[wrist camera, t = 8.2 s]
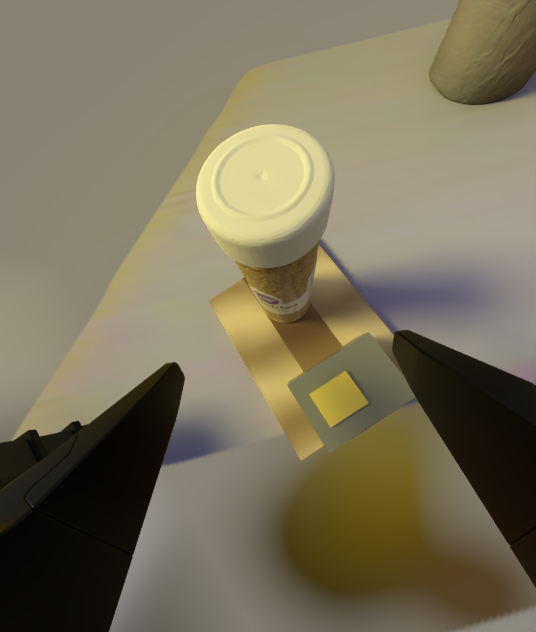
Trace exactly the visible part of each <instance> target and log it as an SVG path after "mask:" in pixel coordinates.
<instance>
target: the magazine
mask: <svg viewBox="0 0 536 632" xmlns="http://www.w3.org/2000/svg"><path fill="white" fill-rule="evenodd" d="M87 425H88V424H87ZM87 425H84V426H81V424H80V422H79V421H75V422H71V423H70V424H69V425H68V426H67V427H66V428H65V429H63V430H62V431H61V432H58V433H54V434H50V435H45V436H39V435H38V433H37V431H36V430H28V431H27V432H25V433H24V434H22V435H21V436H20V437H18V438H17V439H15V440H14V441H10V442H3V443H0V490H2V489H3V488H4V487H6V486H7V485H9V484H10V483H11V482H13V481H14V480H15V479H17V478H18V477H20V476H21V475H22V474H24V473H25V472H27V471H28V470H29V469H31V468H32V467H33V466H35V465H36V464H37V463H39V462H40V461H41V460H43V459H44V458H46V457H47V456H48V455H50V454H51V453H52V452H53V451H55V450H56V449H57V448H59V447H60V446H61V445H63V444H64V443H65V442H66V441H68V440H69V439H70V438H72V437H73V436H74V435H75V434H77V433H79V432H80V431H81V430H82V429H83V428H84V427H86V426H87Z"/></svg>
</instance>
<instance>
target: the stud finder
mask: <svg viewBox="0 0 536 632" xmlns="http://www.w3.org/2000/svg"><path fill="white" fill-rule="evenodd" d="M287 386H288V388H289V389H290V391H291V393H292V394H293V396H294V397H295V399H296V401H297V402H298V404H299V406H300V407H301V409H302V410H303V412H304V414H305V415H306V417H307V418H308V420H309V422H310V423H311V425H312V427H313V428H314V430H315V431H316V433H317V435H318V436H319V438H320V440H321V441H322V443H323V444H324V446H325V448H326V449H327V451H328V452H329V453H331V452H332V451H334V450H335V449H337V448H338V447H340V446H341V445H343V444H344V443H346V442H347V441H349V440H350V439H352V438H353V437H355V436H357V435H358V434H360V433H361V432H363V431H364V430H366V429H367V428H369V427H371V426H372V425H374V424H375V423H377V422H378V421H380V420H381V419H383V418H384V417H386V416H387V415H389V414H390V413H392V412H394V411H395V410H397V409H398V408H400V407H401V406H403V405H404V404H406V403H407V402H409V401H410V400H412V399H414V398H415V395H414V394H413V392H412V390H411V389H410V387H409V385H408V383H407V381H406V379H405V377H404V376H403V375H402V374H401V372H400V371H399V370H398V368H397V367H396V366H395V365H394V363H393V362H392V361H391V360H390V358H389V357H388V356H387V355H386V353H385V352H384V351H383V349H382V348H381V347H380V346H379V344H378V343H377V342H376V341H375V339H374V338H373V337H372V336H371V334H370V333H369V332H367V333H365V334H363V335H360V336H358V337H356V338H355V339H353V340H352V341H350V342H349V343H347V344H346V345H344V346H342V347H341V348H339V349H338V350H336V351H335V352H333V353H332V354H330V355H329V356H327V357H326V358H324V359H323V360H321V361H319V362H318V363H316V364H315V365H313V366H312V367H310V368H309V369H307V370H306V371H304V372H303V373H301V374H300V375H298V376H297V377H295V378H293V379H292V380H290V381H289V382H288V384H287Z"/></svg>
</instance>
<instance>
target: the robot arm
mask: <svg viewBox="0 0 536 632" xmlns="http://www.w3.org/2000/svg"><path fill="white" fill-rule="evenodd" d="M392 351H393V354H394V356H395V358H396V360H397V362H398V364H399V366H400V368H401V371H402V373H403V375H404V377H405V379H406V381H407V383H408V385H409V387H410V389H411V390H412V392H413V394H414V395H415V397H416V398H417V400H418V402H419V403H420V405H421V406H422V408H423V410H424V411H425V413H426V414H427V416H428V417H429V419H430V421H431V422H432V424H433V425H434V427H435V429H436V430H437V432H438V433H439V435H440V437H441V438H442V440H443V441H444V443H445V444H446V446H447V447H448V449H449V451H450V452H451V454H452V456H453V457H454V459H455V460H456V462H457V463H458V465H459V467H460V468H461V470H462V471H463V473H464V475H465V476H466V478H467V479H468V481H469V482H470V484H471V486H472V487H473V489H474V490H475V492H476V494H477V495H478V497H479V498H480V500H481V501H482V503H483V505H484V506H485V507H486V509H487V511H488V513H489V514H490V516H491V517H492V519H493V520H494V522H495V524H496V525H497V527H498V528H499V530H500V531H501V533H502V535H503V536H504V538H505V539H506V541H507V542H508V544H509V545H510V548H511V549H512V551H513V552H514V554H515V556H516V557H517V559H518V560H519V562H520V563H521V565H522V567H523V568H524V570H525V571H526V573H527V574H528V576H529V578H530V579H531V581H532V583H533V584H534V586H535V587H536V385H534V384H533V383H531V382H529V381H526V380H524V379H522V378H519V377H517V376H515V375H512V374H510V373H508V372H505V371H503V370H501V369H498V368H496V367H493V366H491V365H489V364H486V363H484V362H482V361H479V360H477V359H475V358H472V357H470V356H468V355H465V354H463V353H461V352H458V351H456V350H454V349H451V348H449V347H447V346H444V345H442V344H440V343H437V342H435V341H433V340H430V339H428V338H425V337H423V336H421V335H418V334H416V333H414V332H411V331H409V330H401V331H396V332H395V333H394V338H393V345H392ZM184 381H185V377H184V374H183V372H182V371H181V369H180V367H179V365H178V364H177V363H176V362H172V363H166V364H165V365H163V366H162V367H161V368H160V369H158V370H157V371H156V372H155V373H153V374H152V375H151V376H149V377H148V378H147V379H146V380H144V381H143V382H142V383H141V384H139V385H138V386H137V387H135V388H134V389H133V390H132V391H130V392H129V393H128V394H126V395H125V396H124V397H123V398H121V399H120V400H119V401H118V402H116V403H115V404H114V405H112V406H111V407H110V408H109V409H107V410H106V411H105V412H104V413H102V414H101V415H100V416H98V417H97V418H96V419H95V420H93V421H92V422H91V423H89V424H88V425H87V426H86V427H84V428H83V429H82V430H81V431H80V432H79V433H77V434H75V435H74V436H73V437H72V438H70V439H69V440H68V441H66V442H65V443H64V444H63V445H61V446H60V447H59V448H57V449H56V450H55V451H53V452H52V453H51V454H50V455H48V456H47V457H46V458H44V459H43V460H41V461H40V462H39V463H37V464H36V465H35V466H33V467H32V468H31V469H29V470H28V471H27V472H25V473H24V474H22V475H21V476H20V477H18V478H17V479H15V480H14V481H13V482H11V483H10V484H9V485H7V486H6V487H4V488H3V489H2V490H0V632H109V630H110V627H111V624H112V620H113V617H114V614H115V611H116V608H117V605H118V601H119V598H120V595H121V592H122V589H123V585H124V583H125V579H126V576H127V573H128V570H129V566H130V564H131V560H132V555H133V554H134V550H135V547H136V544H137V541H138V538H139V535H140V531H141V528H142V525H143V522H144V519H145V516H146V512H147V509H148V506H149V503H150V500H151V497H152V493H153V490H154V487H155V484H156V481H157V478H158V474H159V471H160V468H161V465H162V462H163V459H164V455H165V452H166V449H167V446H168V443H169V440H170V437H171V433H172V430H173V427H174V424H175V421H176V417H177V414H178V410H179V405H180V400H181V395H182V391H183V386H184Z"/></svg>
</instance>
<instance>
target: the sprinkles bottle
mask: <svg viewBox="0 0 536 632" xmlns="http://www.w3.org/2000/svg"><path fill="white" fill-rule="evenodd" d="M333 192H334V169H333V165H332V161H331V159H330V156H329V154H328V153H327V151H326V149H325V148H324V147H323V145H322V144H321V143H320V142H319V141H318V140H317V139H315V138H314V137H313V136H312V135H310V134H308V133H307V132H305V131H303V130H301V129H298V128H295V127H291V126H287V125H277V124H270V125H260V126H256V127H252V128H249V129H246V130H243V131H241V132H239V133H236V134H235V135H233V136H231V137H230V138H228V139H227V140H225V141H224V142H223V143H221V144H220V145H219V146H218V147H217V148H216V149H215V150H214V151H213V152H212V153H211V154H210V156H209V157H208V158H207V160H206V161H205V163H204V165H203V167H202V169H201V171H200V174H199V177H198V181H197V186H196V199H197V206H198V210H199V212H200V215H201V217H202V219H203V221H204V223H205V224H206V226H207V228H208V229H209V231H210V232H211V234H212V236H213V237H214V239H215V240H216V242H217V243H218V245H219V246H220V248H221V249H222V250H223V251H224V252H225V253H226V254H227V255H228V256H229V257H231V258H232V259H233V260H235V262H236V264H237V265H238V267H239V269H240V270H241V272H242V273H243V275H244V276H245V278H246V280H247V281H248V284H249V286H250V288H251V290H252V291H253V293H254V295H255V296H256V298H257V299H258V301H259V302H260V304H261V305H262V308H263V310H264V312H265V313H266V314H267V315H268V316H269V317H270V318H271V319H273V320H274V321H277V322H281V323H289V322H293V321H296V320H298V319H299V318H301V317H302V316H303V315H304V314H305V313H306V311H307V309H308V307H309V305H310V295H311V291H312V285H313V279H314V274H315V268H316V263H317V251H318V246H319V241H320V239H321V237H322V235H323V233H324V231H325V229H326V226H327V222H328V218H329V213H330V208H331V203H332V198H333Z"/></svg>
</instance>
